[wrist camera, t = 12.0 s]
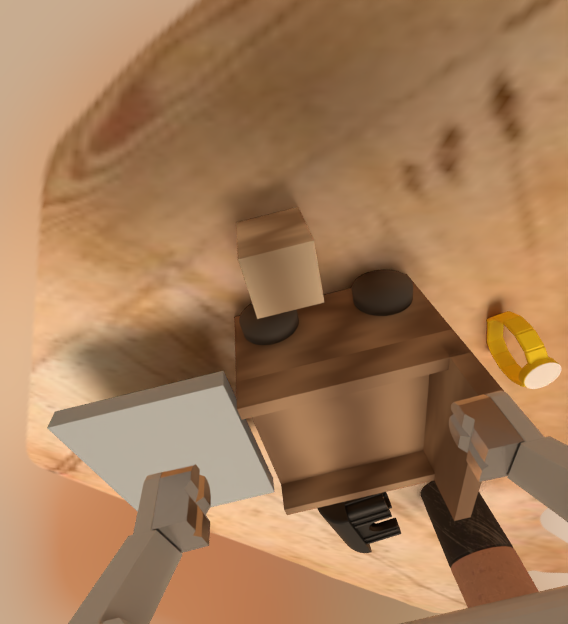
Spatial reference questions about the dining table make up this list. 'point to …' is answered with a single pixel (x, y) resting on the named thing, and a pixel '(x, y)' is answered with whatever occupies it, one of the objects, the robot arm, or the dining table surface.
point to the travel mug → (477, 552)
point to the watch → (539, 364)
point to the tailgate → (168, 438)
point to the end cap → (362, 520)
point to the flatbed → (359, 394)
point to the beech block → (279, 262)
